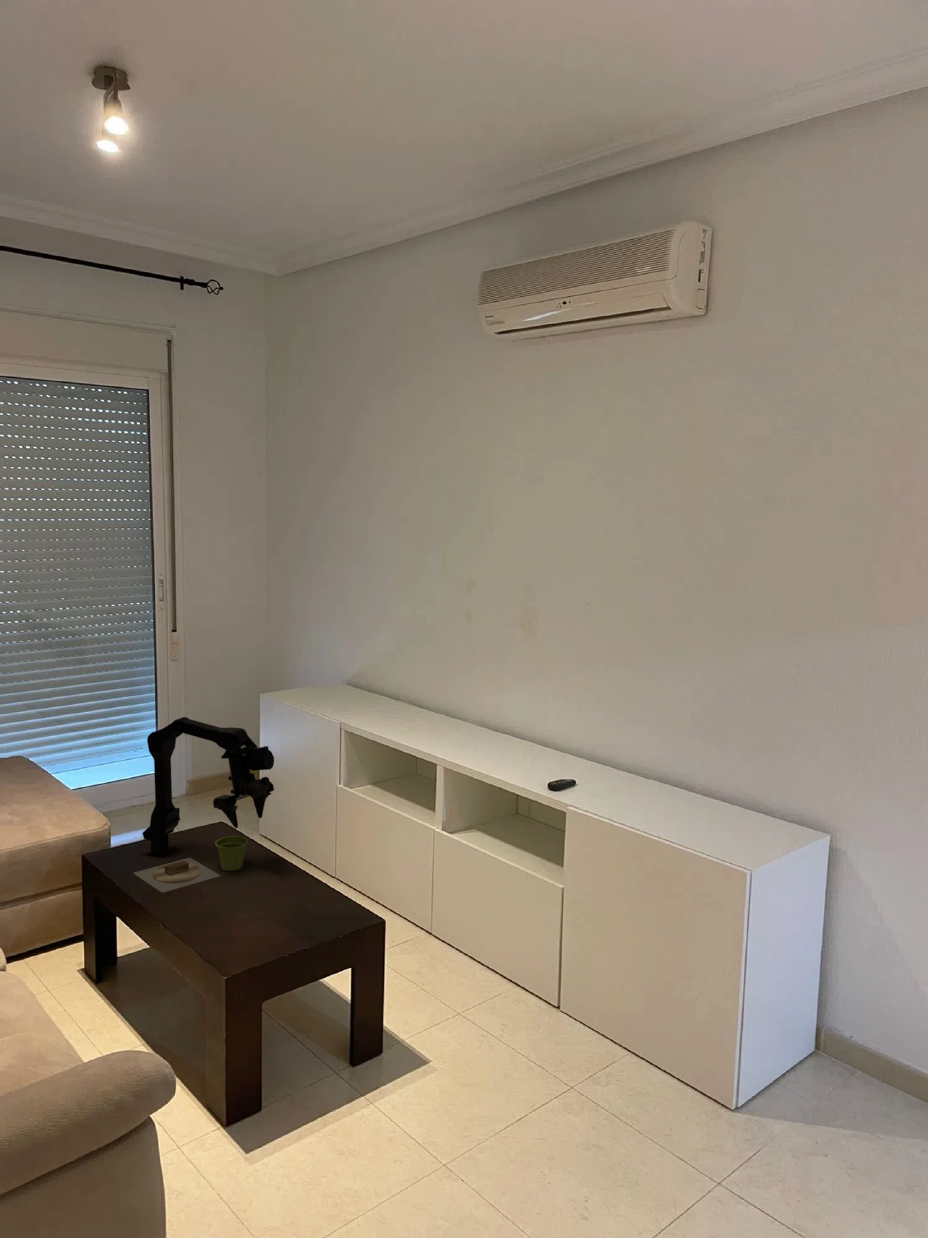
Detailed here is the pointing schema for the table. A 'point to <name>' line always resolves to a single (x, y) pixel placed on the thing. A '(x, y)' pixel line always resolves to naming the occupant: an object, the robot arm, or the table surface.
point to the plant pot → (231, 852)
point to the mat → (164, 887)
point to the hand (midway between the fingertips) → (248, 822)
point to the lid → (176, 872)
